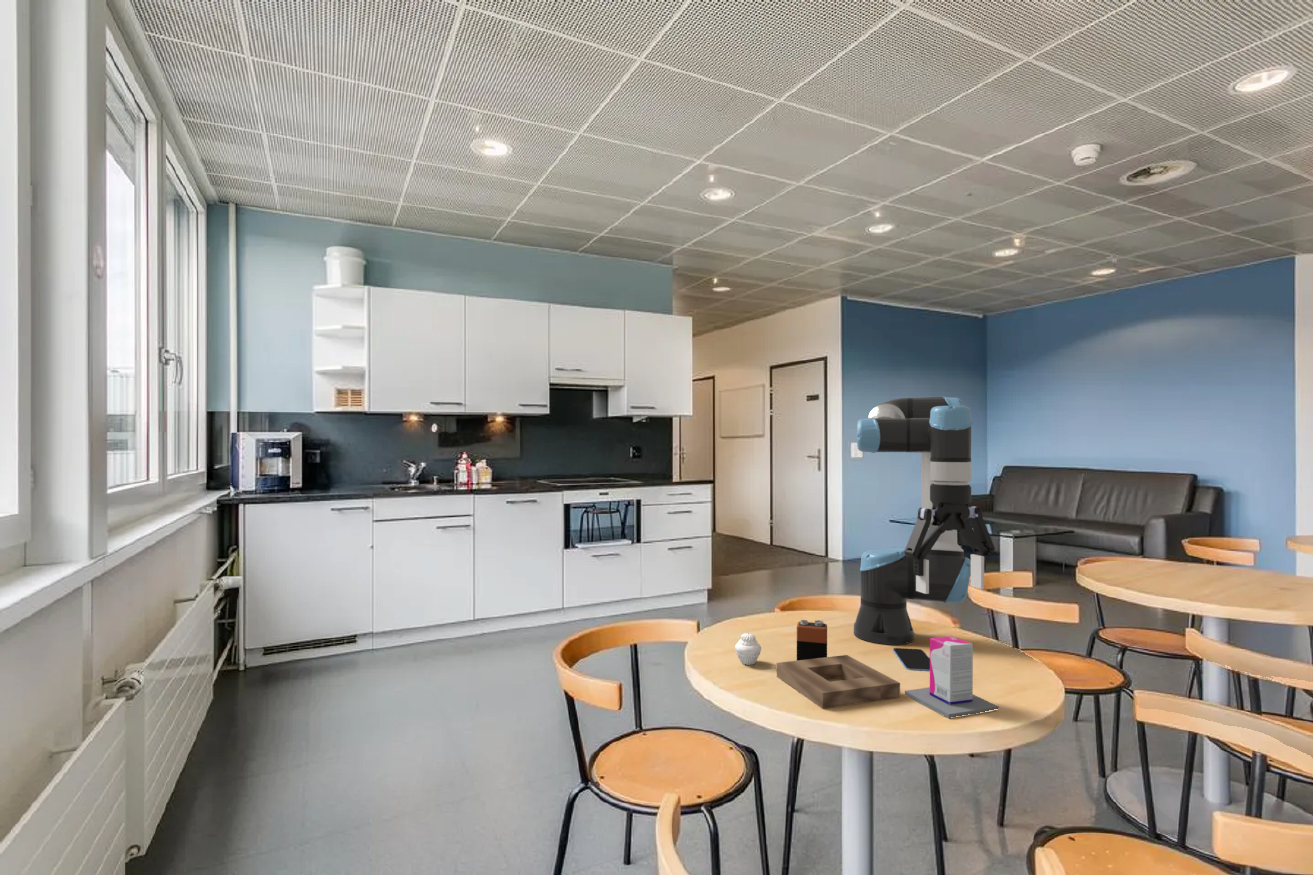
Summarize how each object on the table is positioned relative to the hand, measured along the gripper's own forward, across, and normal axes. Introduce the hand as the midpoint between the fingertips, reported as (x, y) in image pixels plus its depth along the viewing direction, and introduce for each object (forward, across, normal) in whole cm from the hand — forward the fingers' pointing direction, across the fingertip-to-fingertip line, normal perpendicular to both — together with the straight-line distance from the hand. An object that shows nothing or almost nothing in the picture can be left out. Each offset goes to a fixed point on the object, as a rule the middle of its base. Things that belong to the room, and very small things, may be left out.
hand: (950, 590), depth 127 cm
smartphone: (+23, -11, -23) cm, 34 cm away
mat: (+22, 0, 0) cm, 22 cm away
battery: (+23, +14, -28) cm, 39 cm away
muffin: (+22, +28, -33) cm, 49 cm away
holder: (+22, +17, -14) cm, 31 cm away
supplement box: (+22, 0, 0) cm, 22 cm away
